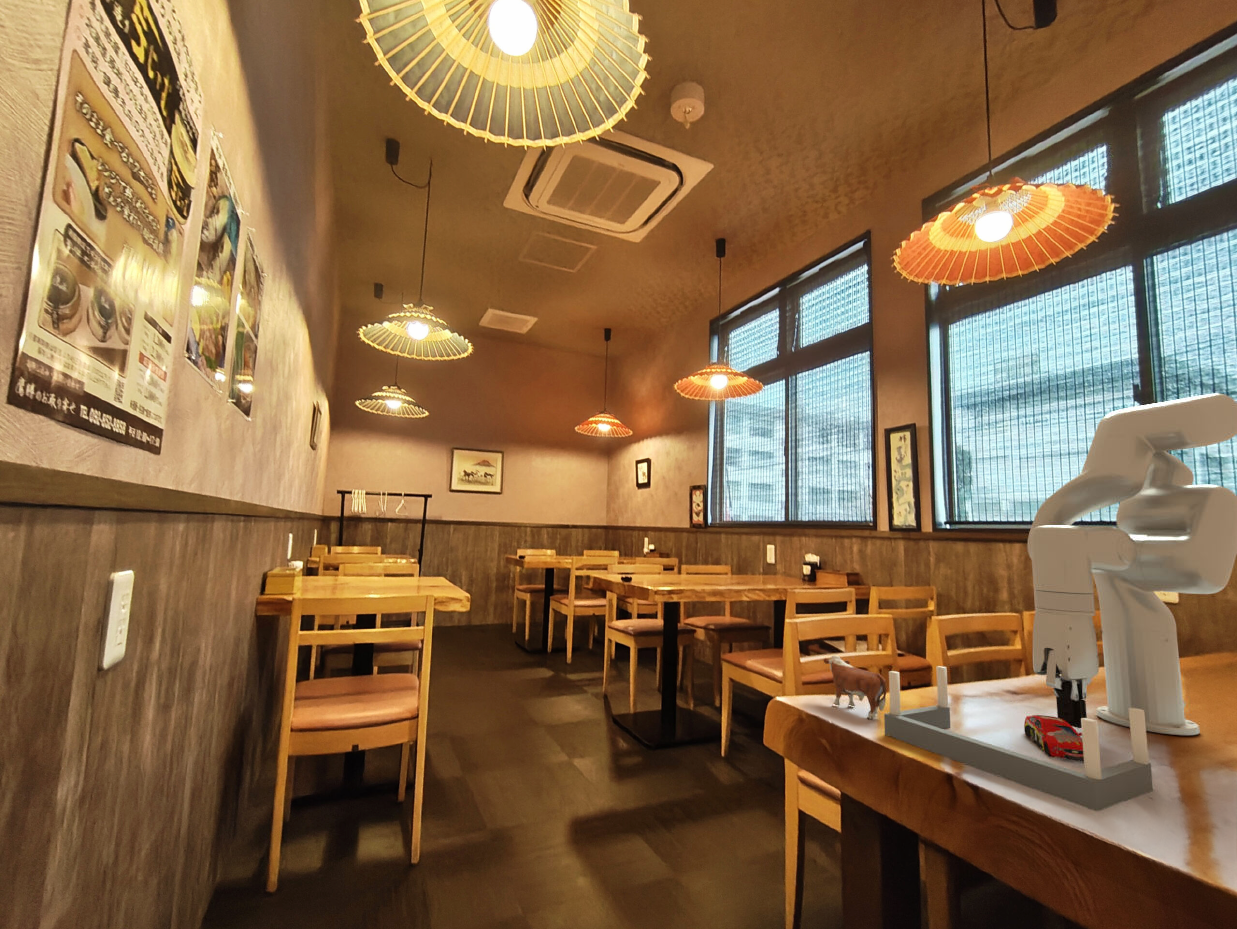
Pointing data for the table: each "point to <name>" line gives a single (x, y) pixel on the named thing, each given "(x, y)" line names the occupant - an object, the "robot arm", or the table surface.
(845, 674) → the bull figurine
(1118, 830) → the table surface
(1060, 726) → the race car
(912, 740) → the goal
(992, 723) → the table surface
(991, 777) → the table surface
